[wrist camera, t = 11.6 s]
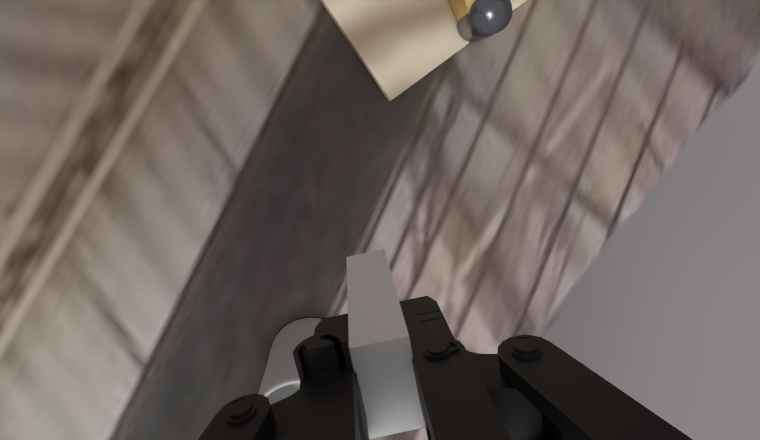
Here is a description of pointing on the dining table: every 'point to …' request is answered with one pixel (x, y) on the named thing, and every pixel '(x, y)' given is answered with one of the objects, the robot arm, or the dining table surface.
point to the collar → (481, 17)
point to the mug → (285, 360)
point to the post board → (399, 37)
